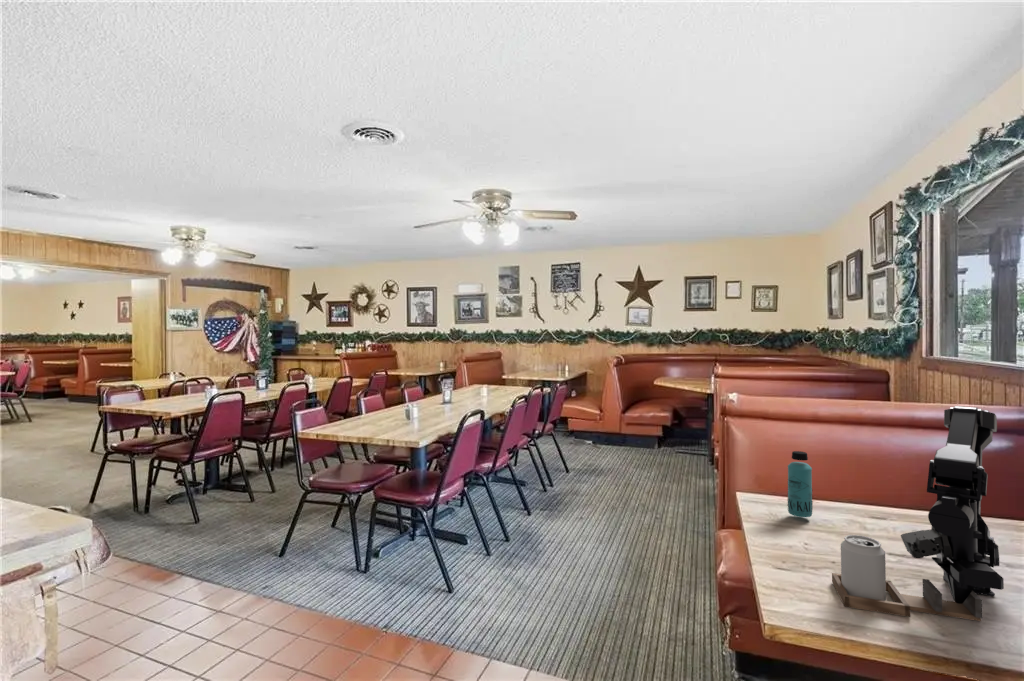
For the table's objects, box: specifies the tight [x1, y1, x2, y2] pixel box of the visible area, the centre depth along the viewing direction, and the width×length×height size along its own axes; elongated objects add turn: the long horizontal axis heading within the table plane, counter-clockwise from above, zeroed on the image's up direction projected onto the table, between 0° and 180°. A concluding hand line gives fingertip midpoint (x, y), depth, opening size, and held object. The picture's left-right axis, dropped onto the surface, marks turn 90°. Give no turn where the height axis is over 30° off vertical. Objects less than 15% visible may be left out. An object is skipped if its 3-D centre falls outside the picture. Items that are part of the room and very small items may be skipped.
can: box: [840, 534, 887, 601], centre depth 101 cm, size 8×8×12 cm
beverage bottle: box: [786, 450, 814, 518], centre depth 146 cm, size 6×7×20 cm
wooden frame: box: [831, 572, 983, 622], centre depth 98 cm, size 22×11×4 cm, turn 68°
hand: (958, 602), depth 95 cm, fingers closed
